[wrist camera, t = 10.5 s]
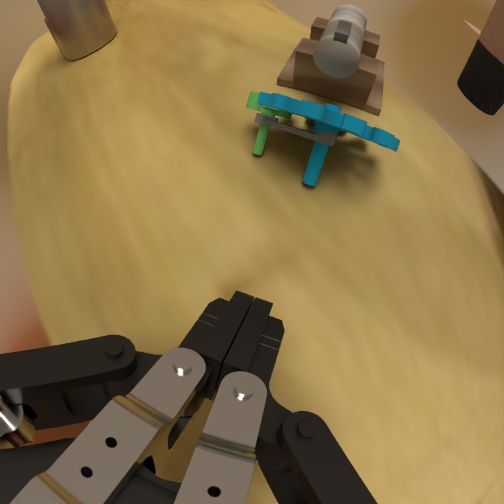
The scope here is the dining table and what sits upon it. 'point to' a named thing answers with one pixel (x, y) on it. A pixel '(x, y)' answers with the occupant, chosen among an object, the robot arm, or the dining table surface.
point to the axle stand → (338, 61)
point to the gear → (324, 130)
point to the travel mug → (486, 65)
